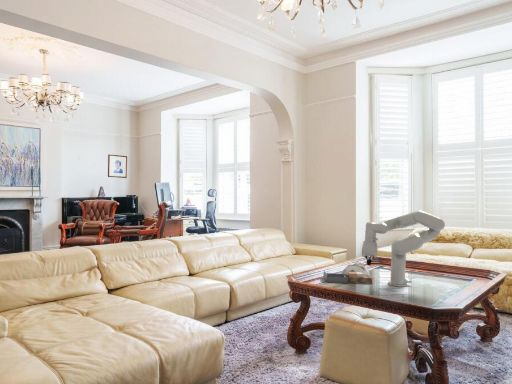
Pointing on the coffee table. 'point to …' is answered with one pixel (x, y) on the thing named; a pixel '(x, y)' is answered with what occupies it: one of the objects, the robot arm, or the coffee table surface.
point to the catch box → (335, 278)
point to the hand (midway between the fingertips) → (368, 265)
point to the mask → (355, 268)
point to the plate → (359, 279)
